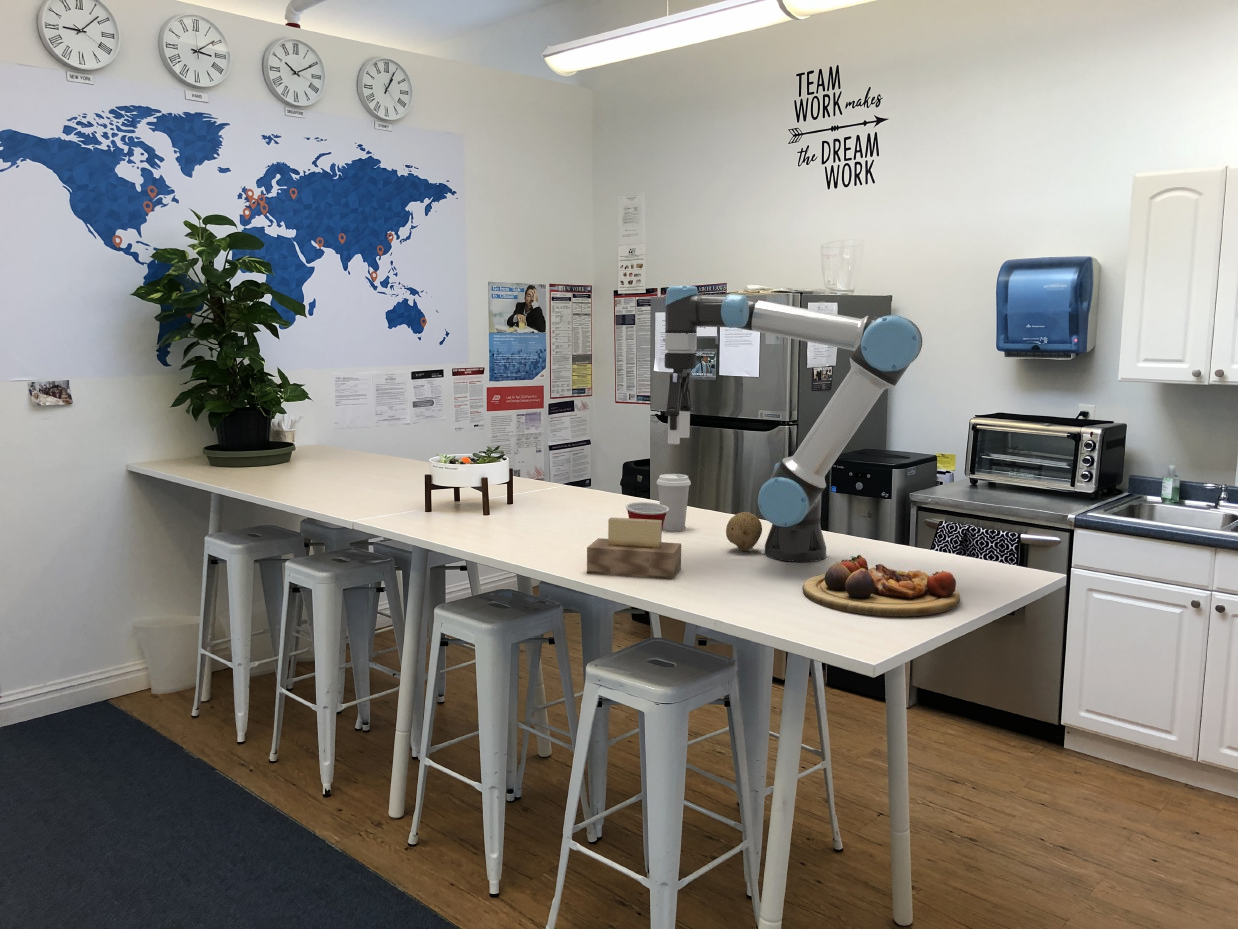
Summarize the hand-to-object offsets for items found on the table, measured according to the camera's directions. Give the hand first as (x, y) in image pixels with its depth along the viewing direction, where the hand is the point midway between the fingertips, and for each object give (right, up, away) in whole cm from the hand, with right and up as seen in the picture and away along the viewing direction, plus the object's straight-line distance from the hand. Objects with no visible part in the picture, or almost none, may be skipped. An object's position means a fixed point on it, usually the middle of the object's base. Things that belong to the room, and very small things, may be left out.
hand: (678, 440), depth 231 cm
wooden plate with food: (+41, -34, -28) cm, 60 cm away
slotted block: (-11, -30, -10) cm, 34 cm away
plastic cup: (-8, -28, +8) cm, 30 cm away
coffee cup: (+1, -24, +37) cm, 44 cm away
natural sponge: (+17, -28, +11) cm, 34 cm away
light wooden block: (-11, -29, -10) cm, 33 cm away
